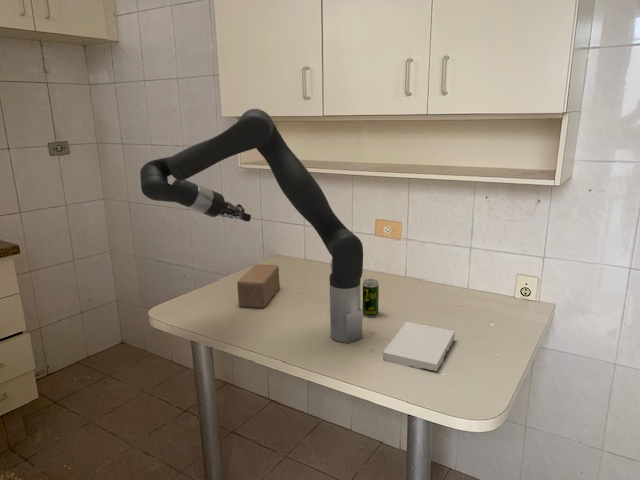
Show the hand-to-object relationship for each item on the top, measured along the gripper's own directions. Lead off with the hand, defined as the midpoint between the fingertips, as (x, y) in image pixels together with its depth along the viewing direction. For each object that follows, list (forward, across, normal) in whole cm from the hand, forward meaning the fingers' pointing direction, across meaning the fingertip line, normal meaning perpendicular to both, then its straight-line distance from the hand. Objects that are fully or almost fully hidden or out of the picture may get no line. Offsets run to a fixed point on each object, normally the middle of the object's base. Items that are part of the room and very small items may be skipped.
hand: (249, 218), depth 150 cm
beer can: (+41, -23, +23) cm, 52 cm away
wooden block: (+16, +11, +23) cm, 30 cm away
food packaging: (+34, -48, +32) cm, 67 cm away
